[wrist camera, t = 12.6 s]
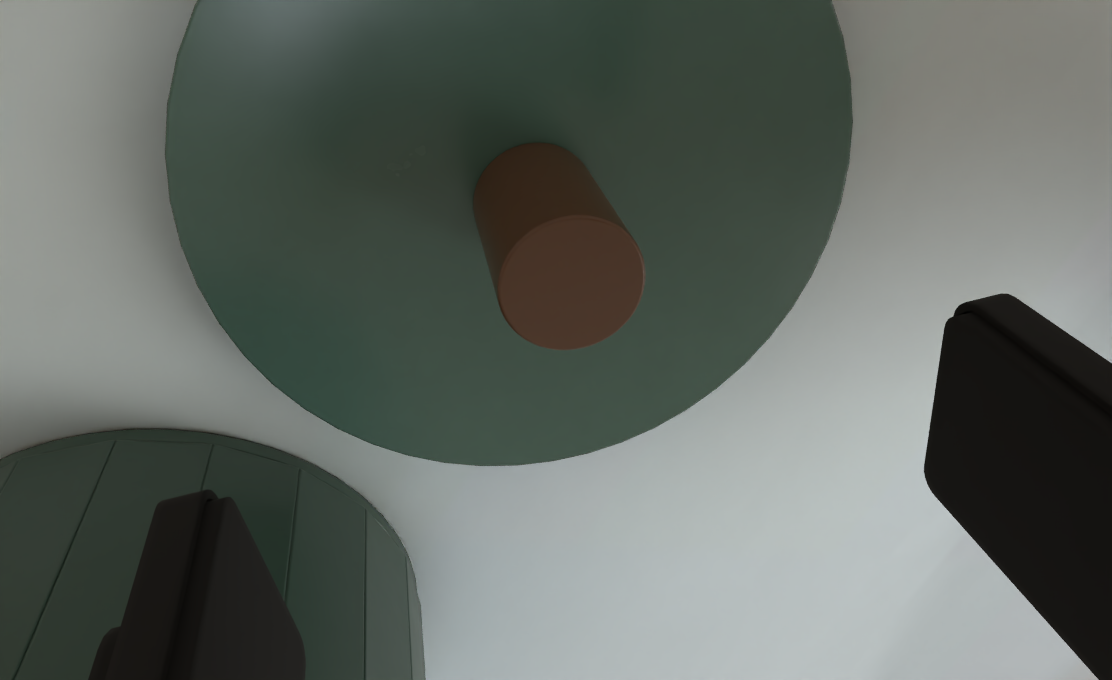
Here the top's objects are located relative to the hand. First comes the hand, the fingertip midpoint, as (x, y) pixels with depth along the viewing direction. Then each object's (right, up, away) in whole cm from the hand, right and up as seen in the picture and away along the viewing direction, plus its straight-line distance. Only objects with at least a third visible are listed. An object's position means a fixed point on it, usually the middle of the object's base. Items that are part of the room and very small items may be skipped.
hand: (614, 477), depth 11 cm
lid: (-1, +5, +8) cm, 10 cm away
